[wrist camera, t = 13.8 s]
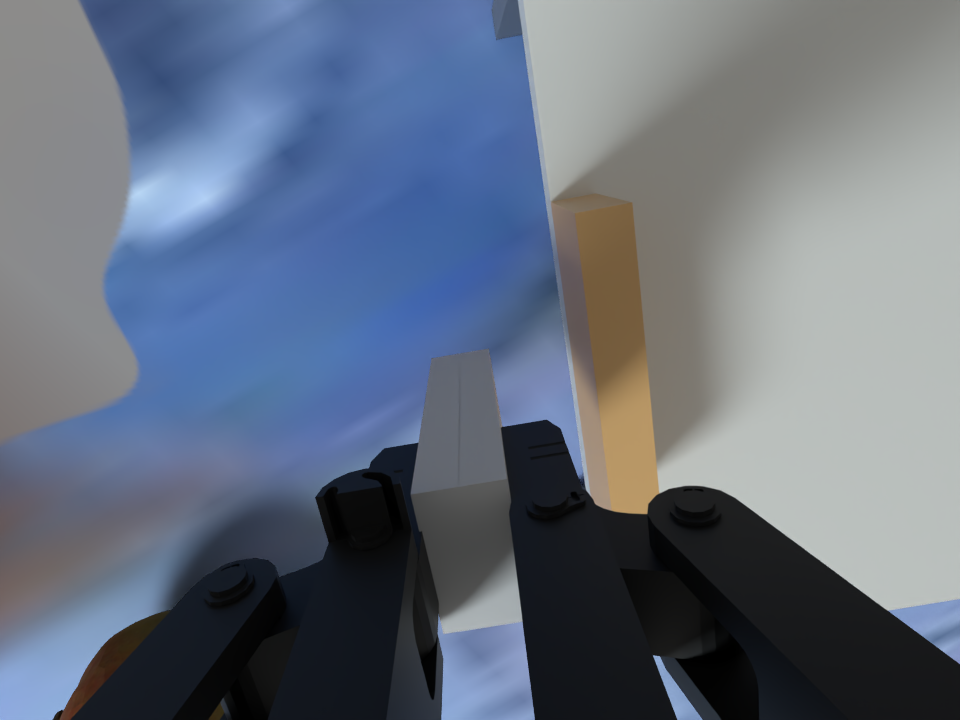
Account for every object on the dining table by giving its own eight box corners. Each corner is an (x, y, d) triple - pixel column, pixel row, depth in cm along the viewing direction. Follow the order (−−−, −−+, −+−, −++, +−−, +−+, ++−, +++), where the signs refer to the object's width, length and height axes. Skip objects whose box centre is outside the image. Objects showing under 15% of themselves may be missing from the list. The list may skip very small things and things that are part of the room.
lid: (507, -73, 14) (526, -171, 10) (1222, -218, 14) (1560, -386, 10) (605, 633, 21) (641, 751, 17) (1080, 555, 21) (1239, 657, 17)
